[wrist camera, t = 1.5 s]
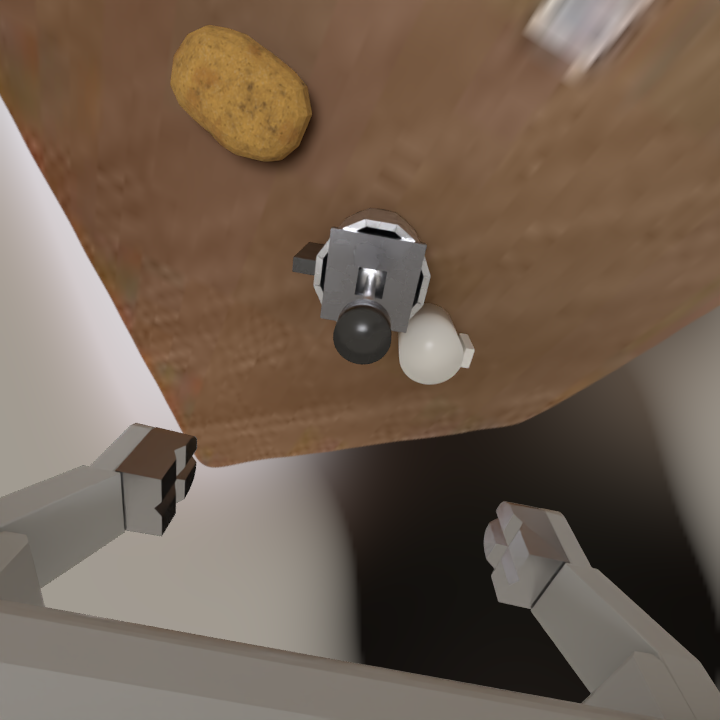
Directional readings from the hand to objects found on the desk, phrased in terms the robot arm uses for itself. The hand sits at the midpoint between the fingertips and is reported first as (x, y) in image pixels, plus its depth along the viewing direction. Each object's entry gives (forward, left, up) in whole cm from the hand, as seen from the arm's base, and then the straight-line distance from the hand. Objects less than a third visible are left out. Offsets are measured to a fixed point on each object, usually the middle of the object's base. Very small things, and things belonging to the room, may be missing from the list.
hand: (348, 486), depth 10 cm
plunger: (0, +2, -29) cm, 29 cm away
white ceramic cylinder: (-8, +10, -39) cm, 41 cm away
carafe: (+1, +2, -39) cm, 39 cm away
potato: (+15, -11, -39) cm, 43 cm away
